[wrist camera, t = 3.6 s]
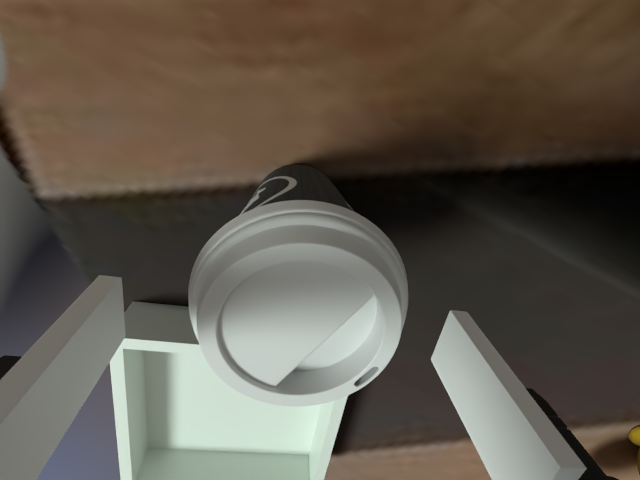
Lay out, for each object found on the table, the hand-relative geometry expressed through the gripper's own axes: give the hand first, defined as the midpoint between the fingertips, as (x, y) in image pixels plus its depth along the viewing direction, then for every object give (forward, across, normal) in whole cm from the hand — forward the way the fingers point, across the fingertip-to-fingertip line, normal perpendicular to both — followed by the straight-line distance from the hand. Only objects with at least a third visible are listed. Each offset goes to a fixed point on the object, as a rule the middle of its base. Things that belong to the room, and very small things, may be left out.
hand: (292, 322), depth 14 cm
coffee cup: (+14, +1, 0) cm, 14 cm away
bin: (+14, -2, -20) cm, 25 cm away
